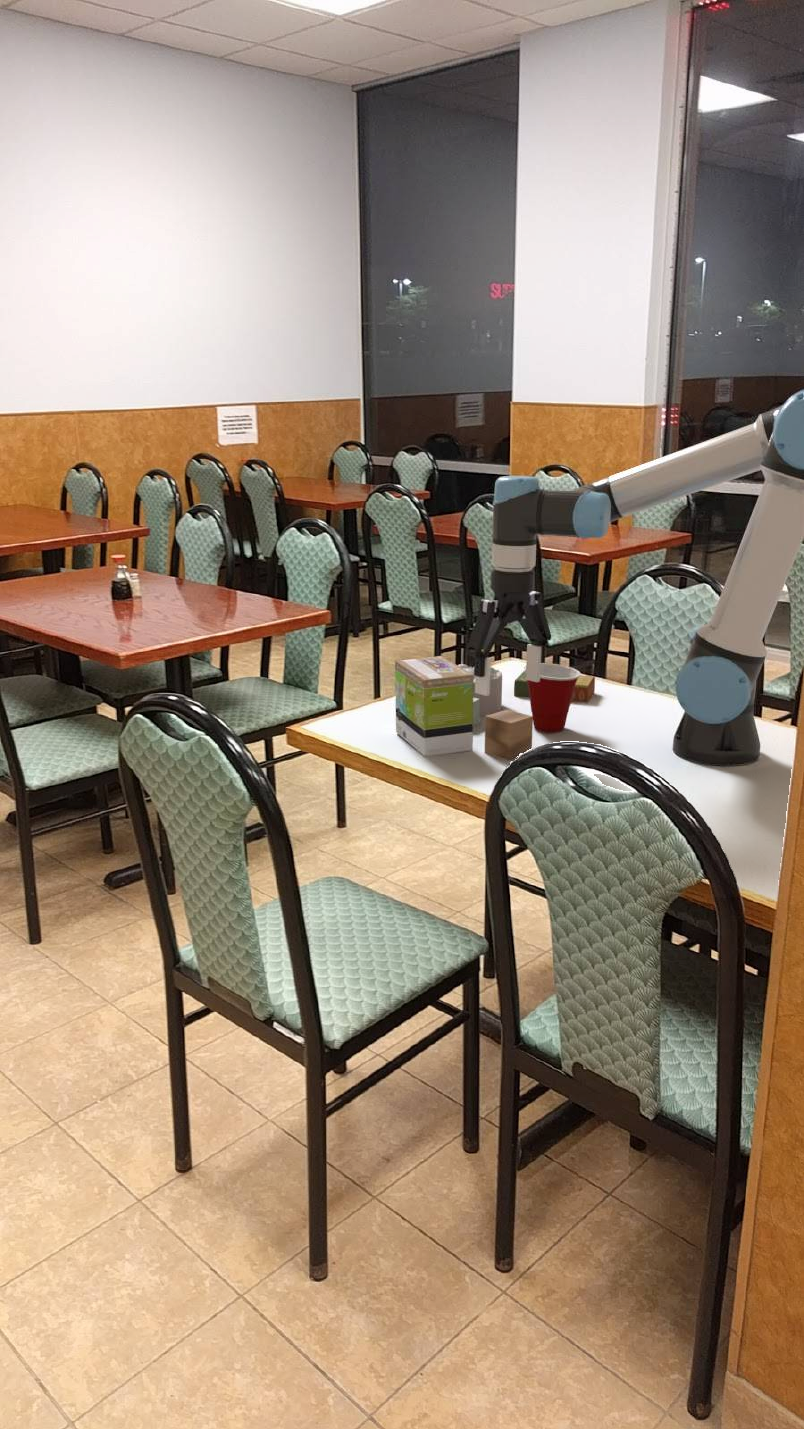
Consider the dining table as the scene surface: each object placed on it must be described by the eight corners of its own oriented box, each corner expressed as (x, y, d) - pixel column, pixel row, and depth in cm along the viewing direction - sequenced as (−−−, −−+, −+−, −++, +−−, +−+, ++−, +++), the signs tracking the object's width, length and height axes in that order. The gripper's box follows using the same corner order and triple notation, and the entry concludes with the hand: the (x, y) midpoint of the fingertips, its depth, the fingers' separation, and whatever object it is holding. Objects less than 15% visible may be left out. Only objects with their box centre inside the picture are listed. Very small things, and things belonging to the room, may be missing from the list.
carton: (587, 704, 227) (588, 684, 226) (513, 698, 232) (513, 678, 231) (594, 694, 234) (595, 675, 233) (522, 688, 240) (522, 669, 238)
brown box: (531, 753, 195) (532, 716, 193) (509, 761, 192) (510, 723, 190) (506, 746, 200) (507, 709, 198) (484, 753, 196) (485, 716, 194)
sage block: (479, 723, 213) (479, 698, 212) (467, 729, 209) (467, 704, 208) (456, 719, 216) (457, 695, 215) (444, 725, 212) (445, 701, 210)
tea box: (393, 734, 207) (393, 658, 202) (442, 728, 210) (442, 654, 206) (423, 757, 193) (423, 677, 189) (474, 751, 197) (476, 672, 192)
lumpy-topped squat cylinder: (433, 707, 224) (433, 667, 221) (481, 697, 231) (482, 658, 229) (464, 719, 216) (465, 677, 213) (513, 708, 223) (514, 667, 221)
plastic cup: (577, 738, 203) (579, 676, 200) (519, 735, 206) (521, 674, 202) (579, 722, 214) (582, 663, 210) (524, 719, 216) (526, 660, 212)
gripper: (542, 558, 197) (536, 671, 203) (446, 573, 180) (443, 695, 186) (575, 563, 192) (568, 679, 198) (480, 579, 175) (476, 704, 181)
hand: (508, 687), depth 192 cm, fingers open, 13 cm apart
